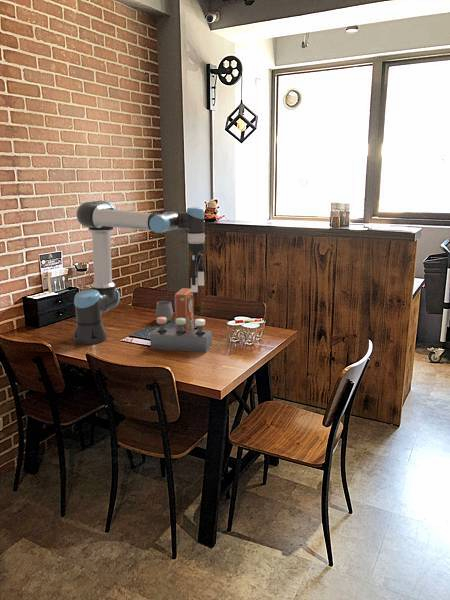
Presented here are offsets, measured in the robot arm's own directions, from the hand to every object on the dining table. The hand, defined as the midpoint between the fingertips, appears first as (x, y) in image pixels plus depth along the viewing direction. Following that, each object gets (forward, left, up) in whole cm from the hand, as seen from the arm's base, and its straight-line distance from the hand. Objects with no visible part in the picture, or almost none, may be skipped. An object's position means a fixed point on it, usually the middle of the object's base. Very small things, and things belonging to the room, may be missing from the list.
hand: (197, 288), depth 229 cm
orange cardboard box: (-10, +12, -26) cm, 30 cm away
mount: (-6, -8, -26) cm, 28 cm away
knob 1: (-15, -8, -21) cm, 27 cm away
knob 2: (+3, -8, -21) cm, 22 cm away
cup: (-27, +31, -26) cm, 48 cm away
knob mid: (-6, -8, -21) cm, 23 cm away
